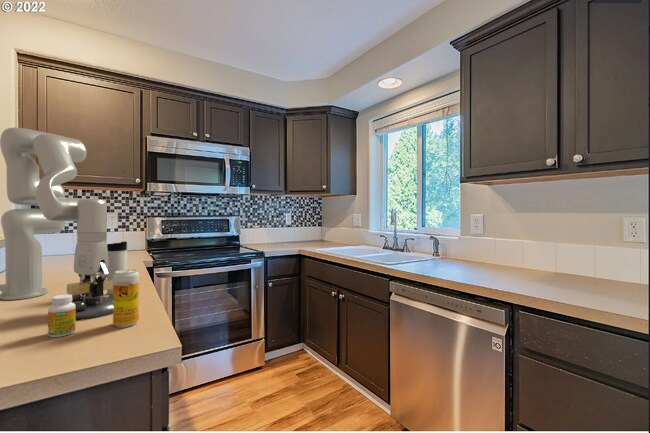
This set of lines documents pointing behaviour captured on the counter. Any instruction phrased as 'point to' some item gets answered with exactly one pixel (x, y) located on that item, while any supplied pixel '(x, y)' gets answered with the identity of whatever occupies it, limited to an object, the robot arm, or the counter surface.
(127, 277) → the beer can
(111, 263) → the travel mug
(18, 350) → the counter surface
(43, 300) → the counter surface
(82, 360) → the counter surface
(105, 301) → the base
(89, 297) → the orange-tipped wooden plank
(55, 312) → the supplement bottle
